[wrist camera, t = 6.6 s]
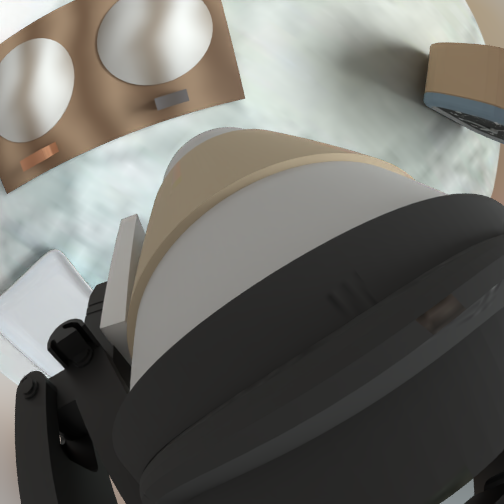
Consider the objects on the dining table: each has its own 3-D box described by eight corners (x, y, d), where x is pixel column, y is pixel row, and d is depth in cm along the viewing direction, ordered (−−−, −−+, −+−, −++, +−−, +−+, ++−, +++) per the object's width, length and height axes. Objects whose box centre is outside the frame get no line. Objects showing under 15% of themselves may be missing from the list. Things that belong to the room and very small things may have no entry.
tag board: (208, -35, 20) (216, -55, 15) (241, 98, 30) (255, 98, 25) (-24, 67, 16) (-48, 67, 12) (12, 190, 26) (-8, 206, 22)
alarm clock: (403, 98, 34) (533, 134, 16) (410, 42, 29) (539, 54, 11) (471, 132, 40) (564, 173, 22) (478, 88, 35) (572, 118, 17)
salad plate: (62, 233, 31) (54, 246, 29) (154, 335, 43) (154, 351, 40) (-13, 301, 32) (-20, 314, 29) (70, 376, 44) (68, 390, 41)
